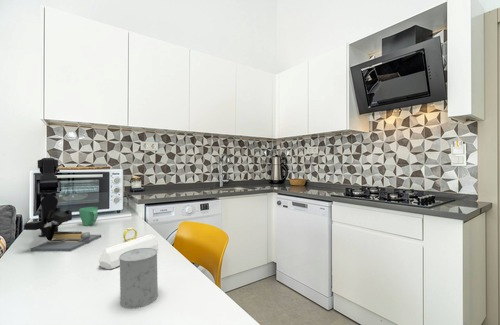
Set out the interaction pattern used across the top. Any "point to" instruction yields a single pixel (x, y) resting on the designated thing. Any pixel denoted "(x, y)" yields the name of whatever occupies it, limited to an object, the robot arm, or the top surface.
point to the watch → (129, 230)
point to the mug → (88, 215)
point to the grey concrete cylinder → (138, 277)
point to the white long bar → (125, 250)
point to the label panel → (64, 244)
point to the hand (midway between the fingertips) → (49, 240)
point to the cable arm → (71, 235)
